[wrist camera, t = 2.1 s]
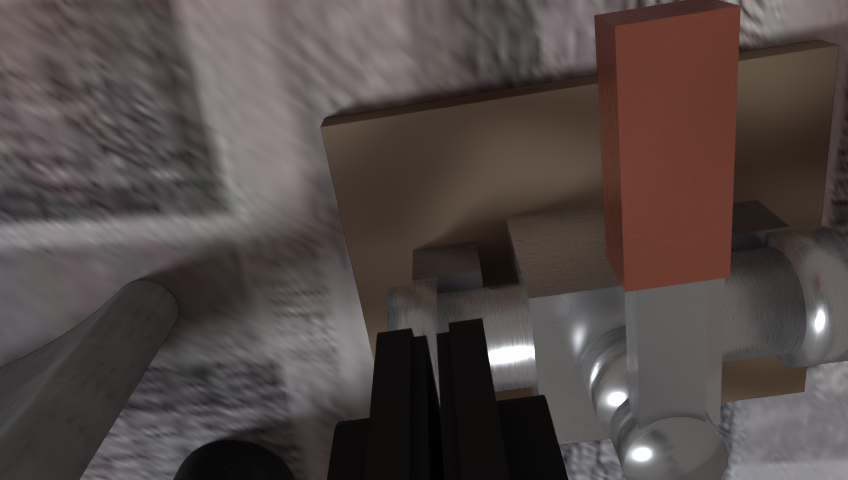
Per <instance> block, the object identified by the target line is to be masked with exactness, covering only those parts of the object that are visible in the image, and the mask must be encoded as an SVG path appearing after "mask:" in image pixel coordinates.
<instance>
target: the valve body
mask: <svg viewBox="0 0 848 480" xmlns="http://www.w3.org/2000/svg"><path fill="white" fill-rule="evenodd" d="M505 219H506V228H507V236H508V245H509V253H510V262H511V270H512V279H513V283H510V284H503V285H496V286H489V287H483V282H482V275H481V268H480V263H479V257H478V251H477V245H476V241H472V242H465V243H458V244H451V245H444V246H437V247H430V248H423V249H417V250H413V260H412V283H410V284H403V285H396V286H389V287H388V289H387V295H386V318H387V331H393V330H400V329H407V328H412V330H413V333H414V337H416V336H423V335H426V336H427V340H428V345H429V351H430V356H431V361H432V367H433V372H434V377H435V383H436V388H437V393H438V399H439V404H440V393H439V375H438V356H437V336H436V334H437V333H444V332H449V322H456V321H464V320H471V319H478V318H482V319H483V325H484V331H485V337H486V343H487V349H488V355H489V361H490V367H491V373H492V379H493V385H494V390H495V392H496V391H504V390H512V389H519V388H527V387H531V391H532V395H533V396H536V395H545V397H546V400H547V403H548V406H549V410H550V414H551V417H552V421H553V425H554V429H555V432H556V436H557V440H558V443H559V445H562V444H570V443H578V442H586V441H594V440H602V439H610V438H611V437H610V431H609V430H610V422H611V419H612V416H613V414H614V412H615V411H616V409H617V408H618V407H619V406H620V405H621V404H622V403H623V402H624V401H625V400H626V399H627V398H629V397H628V370H627V343H626V316H625V292H624V290H623V288H622V286H621V284H620V282H619V281H618V279H617V277H616V275H615V273H614V272H613V270H612V268H611V266H610V264H609V263H608V261H607V259H606V242H605V221H604V202H603V203H596V204H590V205H583V206H576V207H569V208H562V209H556V210H549V211H542V212H535V213H528V214H522V215H515V216H508V217H505ZM771 355H775V356H776V357H777V358H778V359H779V360H780V361H781V362H782V363H784V364H785V365H787V366H790V367H795V368H796V367H804V366H812V365H819V364H827V363H835V362H842V361H848V245H847V243H846V242H845V241H844V240H843V239H842V238H841V236H839V235H838V234H837V233H836V232H835V231H833V230H832V229H830V228H828V227H825V226H811V227H804V228H797V229H790V226H788V225H787V224H786V223H785V222H784V221H782V220H781V219H780V218H779V217H778V216H776V215H775V214H774V213H773V212H771V211H770V210H769V209H768V208H767V207H765V206H764V205H763V204H762V203H761V202H759V201H758V200H754V201H747V202H740V203H733V213H732V238H731V264H730V278H723V279H715V280H709V296H708V338H707V380H706V412H707V414H708V415H709V417H710V419H711V420H712V422H713V424H714V425H720V406H721V378H722V362H725V361H733V360H740V359H748V358H755V357H763V356H771Z"/></svg>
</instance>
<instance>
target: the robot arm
mask: <svg viewBox="0 0 848 480" xmlns="http://www.w3.org/2000/svg"><path fill="white" fill-rule="evenodd" d="M436 336H437V356H438V375H439V393H440V404H439V399H438V393H437V388H436V383H435V377H434V372H433V367H432V361H431V356H430V351H429V345H428V340H427V336H426V335H423V336H416V337H414V333H413V330H412V328H407V329H400V330H393V331H386V332H379V333H377V338H376V350H375V362H374V373H373V385H372V396H371V408H370V418H365V419H357V420H350V421H343V422H338V423H337V425H336V427H335V431H334V437H333V444H332V450H331V457H330V463H329V470H328V476H327V480H568V477H567V473H566V469H565V465H564V462H563V458H562V454H561V451H560V447H559V443H558V440H557V436H556V432H555V429H554V425H553V421H552V417H551V414H550V410H549V406H548V403H547V400H546V397H545V395H536V396H529V397H522V398H514V399H507V400H499V401H496V396H495V390H494V385H493V379H492V373H491V367H490V361H489V355H488V349H487V343H486V337H485V331H484V325H483V319H482V318H478V319H471V320H464V321H456V322H449V332H444V333H437V334H436Z"/></svg>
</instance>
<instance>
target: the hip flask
mask: <svg viewBox="0 0 848 480" xmlns="http://www.w3.org/2000/svg"><path fill="white" fill-rule="evenodd" d="M177 318H178V305H177V302H176V300H175V298H174V297H173V295H172V294H171V293H170V292H169V291H168V290H167V289H166V288H164V287H163V286H161V285H159V284H157V283H155V282H151V281H145V280H140V281H134V282H130V283H128V284H126V285H125V286H124V287H122V288H121V289H120V290H119V291H118V292H117V293H116V294H115V295H114V296H113V297H112V298H111V299H110V300H109V301H107V302H106V303H105V304H104V305H103V306H102V307H101V308H99V309H98V310H97V311H96V312H94V313H93V314H92V315H90V316H89V317H88V318H87V319H85V320H84V321H82V322H81V323H80V324H78V325H77V326H75V327H74V328H73V329H71V330H70V331H68V332H66V333H65V334H63V335H62V336H60V337H59V338H57V339H55V340H54V341H52V342H50V343H48V344H47V345H45V346H43V347H41V348H40V349H38V350H36V351H34V352H32V353H31V354H29V355H27V356H25V357H23V358H21V359H19V360H17V361H15V362H13V363H11V364H8V365H6V366H4V367H2V368H0V480H79V479H80V478H81V476H82V475H83V473H84V471H85V470H86V468H87V466H88V465H89V463H90V461H91V460H92V458H93V457H94V455H95V453H96V452H97V450H98V448H99V447H100V445H101V443H102V442H103V440H104V438H105V437H106V435H107V434H108V432H109V430H110V429H111V427H112V425H113V424H114V422H115V420H116V419H117V417H118V416H119V414H120V412H121V411H122V409H123V407H124V406H125V404H126V402H127V401H128V399H129V398H130V396H131V394H132V393H133V391H134V389H135V388H136V386H137V384H138V383H139V381H140V379H141V378H142V376H143V375H144V373H145V371H146V370H147V368H148V366H149V365H150V363H151V361H152V360H153V358H154V357H155V355H156V353H157V352H158V350H159V348H160V347H161V345H162V343H163V342H164V340H165V339H166V337H167V335H168V334H169V332H170V330H171V329H172V327H173V325H174V324H175V322H176V320H177Z"/></svg>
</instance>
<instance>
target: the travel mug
mask: <svg viewBox="0 0 848 480" xmlns="http://www.w3.org/2000/svg"><path fill="white" fill-rule="evenodd" d="M173 480H294V477H293V474H292V473H291V471H290V469H289V468H288V466H287V465H286V464H285V463H284V462H283V461H282V460H281V459H280V458H279V457H278V456H276V455H275V454H273V453H272V452H270V451H268V450H266V449H264V448H262V447H260V446H257V445H254V444H250V443H246V442H240V441H222V442H215V443H211V444H208V445H205V446H203V447H201V448H199V449H197V450H195V451H194V452H193V453H191V454H190V455H189V456H188V457H187V458H186V459H185V460H184V462H183V463H182V464H181V466H180V468H179V470H178V471H177V473H176V475H175V477H174V479H173Z"/></svg>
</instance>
